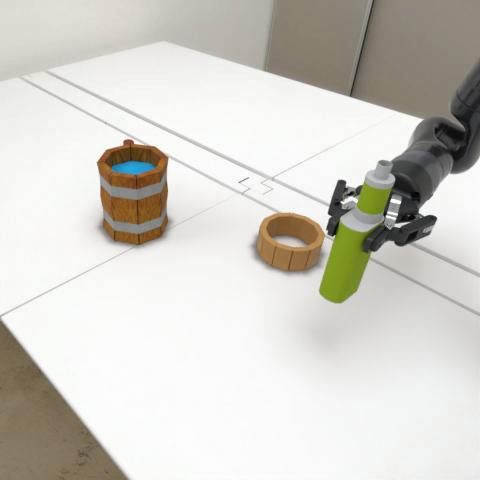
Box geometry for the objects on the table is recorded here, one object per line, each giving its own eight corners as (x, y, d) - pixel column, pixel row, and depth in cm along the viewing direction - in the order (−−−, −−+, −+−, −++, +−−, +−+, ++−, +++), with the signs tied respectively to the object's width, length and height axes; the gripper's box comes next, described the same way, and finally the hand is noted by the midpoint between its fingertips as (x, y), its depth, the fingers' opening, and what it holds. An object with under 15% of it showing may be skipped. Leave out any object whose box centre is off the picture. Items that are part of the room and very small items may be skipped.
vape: (362, 287, 65) (409, 163, 52) (337, 307, 62) (380, 181, 49) (339, 273, 67) (380, 151, 54) (314, 291, 64) (350, 168, 52)
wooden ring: (324, 241, 90) (329, 222, 87) (311, 278, 82) (317, 258, 79) (266, 226, 94) (270, 206, 91) (249, 259, 86) (252, 239, 83)
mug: (173, 241, 90) (174, 175, 80) (104, 247, 89) (97, 181, 79) (159, 188, 105) (159, 127, 96) (100, 193, 104) (94, 132, 94)
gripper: (364, 144, 67) (303, 191, 58) (469, 179, 59) (418, 240, 50) (351, 187, 72) (292, 237, 62) (446, 225, 64) (396, 288, 55)
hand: (348, 238), depth 56 cm, fingers closed on vape, 4 cm apart
